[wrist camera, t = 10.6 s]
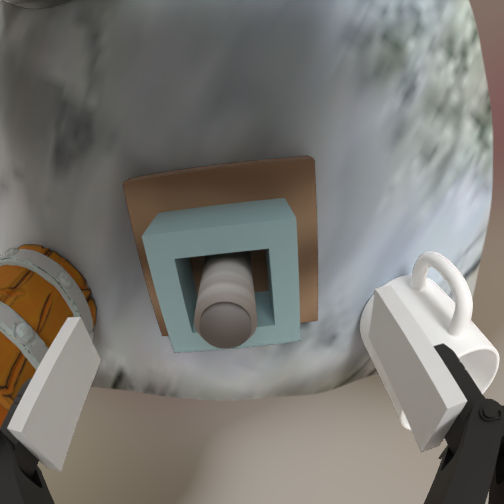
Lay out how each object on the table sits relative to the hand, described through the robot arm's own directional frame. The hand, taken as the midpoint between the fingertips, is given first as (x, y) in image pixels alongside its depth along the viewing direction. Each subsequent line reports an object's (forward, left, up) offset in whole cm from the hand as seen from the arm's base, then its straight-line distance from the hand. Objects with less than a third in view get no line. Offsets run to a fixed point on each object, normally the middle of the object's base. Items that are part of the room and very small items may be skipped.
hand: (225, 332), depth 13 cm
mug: (+4, -19, -10) cm, 22 cm away
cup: (+7, +14, -10) cm, 19 cm away
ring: (+1, 0, -9) cm, 8 cm away
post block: (+1, 0, -10) cm, 10 cm away
